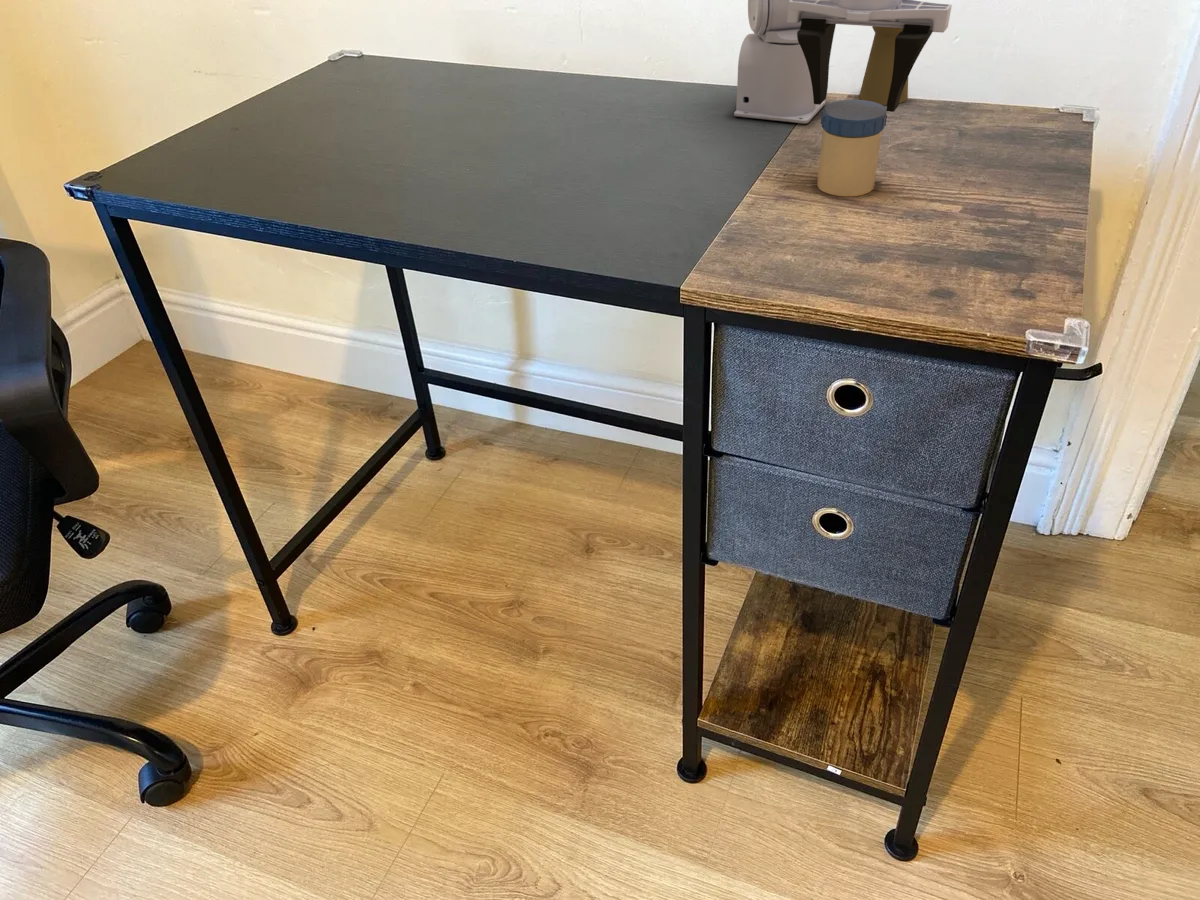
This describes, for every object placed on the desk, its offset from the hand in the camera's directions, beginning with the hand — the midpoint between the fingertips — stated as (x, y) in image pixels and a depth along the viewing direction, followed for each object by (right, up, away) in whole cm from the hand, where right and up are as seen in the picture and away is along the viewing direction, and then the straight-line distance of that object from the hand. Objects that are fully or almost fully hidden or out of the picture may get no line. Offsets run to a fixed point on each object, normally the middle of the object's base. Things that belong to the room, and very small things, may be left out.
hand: (855, 104), depth 87 cm
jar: (+1, -6, +5) cm, 8 cm away
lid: (0, -1, 0) cm, 1 cm away
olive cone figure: (+11, +11, +26) cm, 30 cm away
